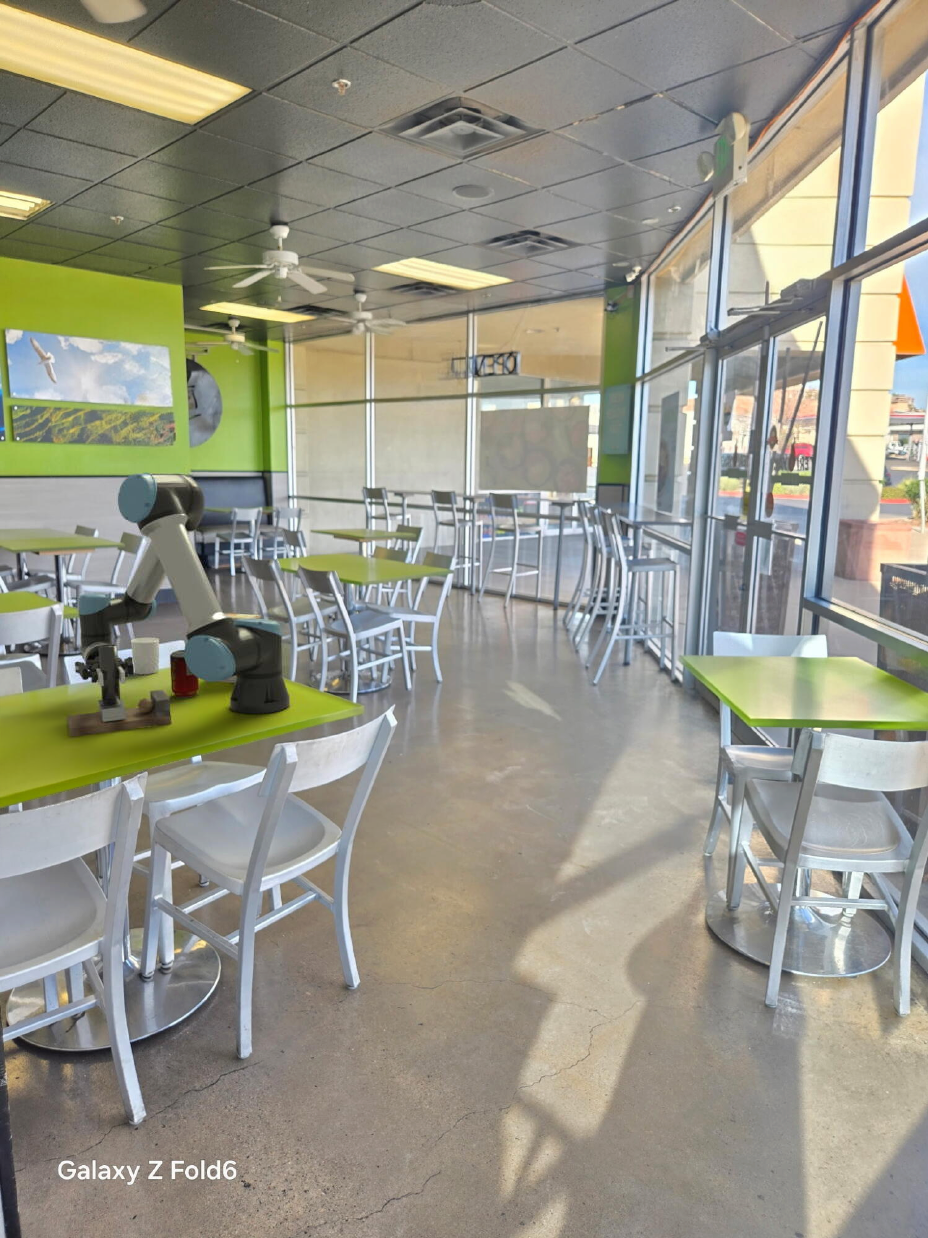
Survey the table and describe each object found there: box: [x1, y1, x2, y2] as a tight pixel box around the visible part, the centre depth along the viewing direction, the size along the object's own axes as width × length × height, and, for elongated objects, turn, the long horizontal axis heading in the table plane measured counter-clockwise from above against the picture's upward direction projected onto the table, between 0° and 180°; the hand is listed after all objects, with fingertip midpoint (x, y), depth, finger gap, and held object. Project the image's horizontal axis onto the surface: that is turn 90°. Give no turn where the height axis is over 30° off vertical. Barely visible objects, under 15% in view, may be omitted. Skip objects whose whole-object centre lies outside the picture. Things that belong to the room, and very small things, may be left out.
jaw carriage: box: [97, 643, 126, 722], centre depth 190 cm, size 5×9×17 cm, turn 30°
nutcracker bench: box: [66, 689, 172, 738], centre depth 192 cm, size 22×11×6 cm, turn 120°
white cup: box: [130, 637, 160, 675], centre depth 243 cm, size 8×8×10 cm
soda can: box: [169, 649, 200, 699], centre depth 218 cm, size 7×7×12 cm
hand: (112, 679), depth 185 cm, fingers closed on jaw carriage, 4 cm apart
